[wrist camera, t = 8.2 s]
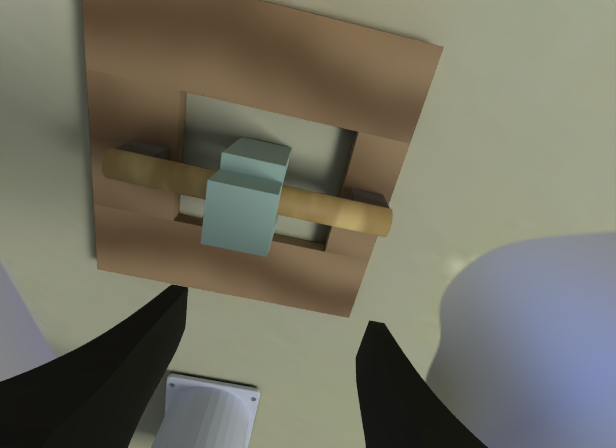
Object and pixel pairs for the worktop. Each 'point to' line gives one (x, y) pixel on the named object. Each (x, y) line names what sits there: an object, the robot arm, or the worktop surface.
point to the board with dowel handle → (255, 93)
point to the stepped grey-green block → (245, 197)
